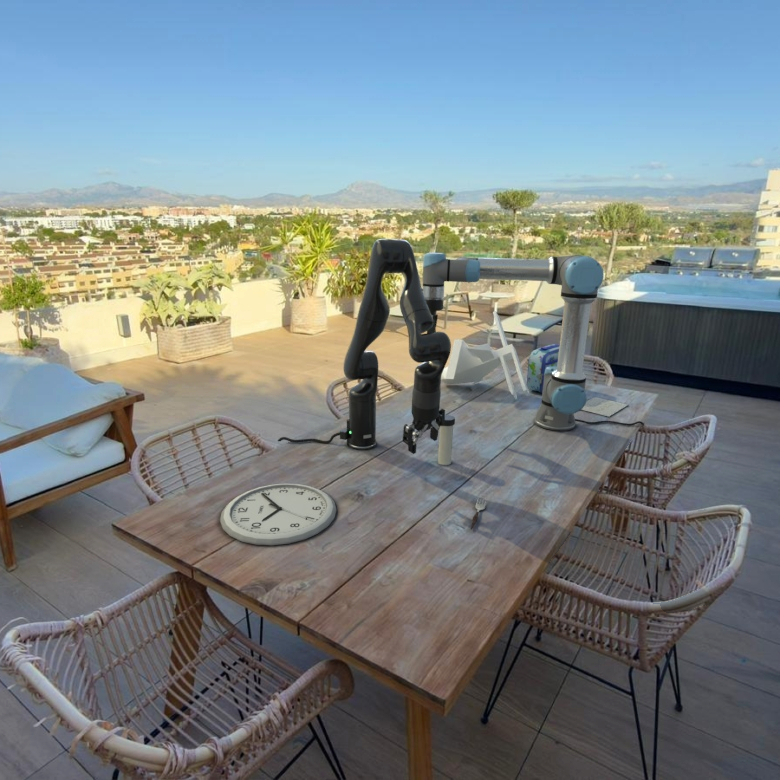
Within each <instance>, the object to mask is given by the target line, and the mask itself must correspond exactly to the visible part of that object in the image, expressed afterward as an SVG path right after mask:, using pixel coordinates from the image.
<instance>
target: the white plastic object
mask: <svg viewBox="0 0 780 780" xmlns="http://www.w3.org/2000/svg"><path fill="white" fill-rule="evenodd" d="M492 315H493V319H494V321H495V324H496V325H495V326H496V328H497V332H498V335H499V338H500V342H501V345H502V347H500V348H498V349H496V350H495V349H493V348H492V347H491V346H490V344H489V343H488V342H487V343H483V344H479V345H473V346H469V345H468V343H466V342H465V340H464V339H463V338H460V339H458V338H454V340H453V344H452V347H451V351H450V356H449V362H448V366H445V367H444V370H443V372H442V375H441V382H442V383H443V384H444V385H445V386H449V385H458V384H467V383H468V384H469V383H473V384H477V383H480V382H482V381H484V378H485V377H486V376H487V375H489V374H490V373H492V372H494V371H495V370H496V369H497V368H499V367H500V366H502V370H503V373H504V376H505V380H506V383H507V386H508V390H509V393H510V394H511V395H512V397H513V398H514V399H515V400H517V392H516V391H517V390H516V388H515V385H514V381H513V378H512V375H511V371H510V369H509V365H508V361H510V360H513V363H514V366H515V369H516V372H517V376H518V380H519V382H520V385H521V389H522V391H523V393H524V395H525V396H526V397H528V396H531V395H530V390H529V389H528V387H527V380H526V378H525V375H524V371H523V369H522V368H523V367H522V366H521V362H520V359H519V355H518V352H517V349H516V347H515V346H514V345H513V343H511V344H508V341H507V337H506V334H505V331H504V328H503V325H502V321H501V318H500V315H499V314H498V312H497V311H496V310H495V311H492Z"/></svg>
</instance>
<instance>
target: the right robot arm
mask: <svg viewBox="0 0 780 780" xmlns="http://www.w3.org/2000/svg"><path fill="white" fill-rule="evenodd" d="M422 264H423V265H422V287H421V288H422V292H423V295H424V298H425V300H426V303H427V305H428V308H429V310H430V312H431V315H432V317H433V326H432V327H431V328H430V329H429V330H428V331H426V333H433V332H437V329H436V328H437V324H438V318H439V315H438V314H437V311H438V312H439V311H442V310H444V299H443V298H444V297H445V282H447V283H449V282H452V283H453V282H457V283H468V284H470V283H477V282H479V281H480V280H495V281H497V280H499V281H500V280H501V281H526V282H527V281H531V282H546V283H547V284H548V285H557V286H561V289H560V298H561V299H562V300H563V303H564V305H563V313H562V322H561V330H560V339H559V345H560V346H559V355H558V364H557V366H553V367H547V368H546V369H545V373H544V382H543V392H542V393H541V402H540V405H539V407H538V410H537V411H536V413H535V417H534V424H535V425H536V426H537V427H539V428H542V429H544V430H549V431H556V432H567V431H572V430H574V429H575V428H576V422H579V423H583V424H588V425H597V424H605V423H610V424H616V425H621V426H629V427H630V426H631V427H632V426H636V425H638V424H640V425H642V426H645V423H644V422H643V421H640V420H638V421H636V422H633V423H625V422H621V421H615V420H599V421H587V420H584V419H583V420H582V419H577V418H575V417H576V416H575V414H576V413H579V412H580V411H582V410H581V409H582V408H583V407H584V406H585V404H586V401H588V397H587V392H586V389H585V388H586V383H587V382H586V381H587V375H586V374H585V373H584V371H583V369H584V361H585V355H586V347H587V339H588V338H587V337H588V330H589V324H590V318H591V317H590V316H591V308H592V303H593V302H594V301H596V300H597V298H598V294H599V293H598V291H599V288H601V285H602V284H603V281H604V269H603V267H602V265H601V264H600V262H599V261H597V260H596V259H595V258H594V257H592V256H587V255H581V254H574V255H573V254H572V255H565V256H551V257H549V258H548V259H545V258H544V259H543V258H542V259H541V258H540V259H539V258H501V257H500V258H497V257H496V258H495V257H494V258H492V257H466V256H460V257H457V258H455V259H451V258H449V259H448V258H447V257H446V253H444V252H427V253H425V254H424V255H423V263H422Z"/></svg>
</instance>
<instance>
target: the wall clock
mask: <svg viewBox="0 0 780 780" xmlns="http://www.w3.org/2000/svg"><path fill="white" fill-rule="evenodd" d="M336 513H337V507H336V502H335V501H334V500H333V498H332V497H331V496H330V495H329V494H327V493H326V492H324V490H321V489H319V488H316V487H313V486H310V485H305V484H299V483H276V484H268V485H264V486H259V487H256V488H252V489H250V490H248V491H245V492H243V493H242V494H239V495H238V496H236V497H235V498H234V499H232V500H231V501H230V502H229V503H227V504H226V506H225V507H224V508H223V510H222V511H221V513H220V518H219V522H220V526H221V528H222V530H223V531H224V532H225V533H226V534H227V535H228V536H229V537H231V538H233V539H235V540H237V541H239V542H242V543H246V544H250V545H256V546H278V545H287V544H294V543H296V542H301V541H304V540H308V539H309V538H311V537H313V536H316V535H318V534H320V533H321V532H323V531H324V530H325V529H327V528H328V527H329V526H330V525H331V523H332V522H333V521H334V520H335V517H336Z"/></svg>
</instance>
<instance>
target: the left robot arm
mask: <svg viewBox="0 0 780 780" xmlns="http://www.w3.org/2000/svg"><path fill="white" fill-rule="evenodd" d="M368 261H369V262H368V266H367V267H368V268H367V275H366V280H365V285H364V289H363V293H362V298H361V302H360V305H359V307H358V312H357V316H356V321H355V325H354V330H353V333H352V336H351V340H350V342H349V344H348V348H347V350H346V353H345V356H344V360H343V373H344V376H345V378H346V379H348V380H349V381H359V380H361V381H360V382H358V384H356V385H355V386H353V387H351V388H350V389H349V391H348V418H347V419H346V427H344V428H343V429H341V430H340V431H339V432H336V433H333V434H332V435H331V437H330V438H329V439H327V440H323V439H322V440H321V439H318V438H303V439H292V438H290V437H288V436H281V437H280V438H279V439H277V442H281V441H288V442H291V443H306V442H307V443H308V442H317V443H320V444H330V443H332V442H333V440H334V438H336V437H337V436H339V439H340V440H343V441H346V445H347V446H349V447H350V448H351V449H355V450H361V451H362V450H370V449H373V448H374V447H376V445H377V441H376V440H377V438H376V436H377V392H378V380H379V359H378V356H377V354H376V353H375V351H372V350H367V349H368V347H369V346H370V345H372V344H373V343H374V342H375V341H376V340H377V339H378V338H379V337H380V336H381V335H382V333H384V331H385V329H386V326H387V323H388V321H389V317H390V312H391V309H390V304H389V301H388V299H387V296H386V294H385V292H384V289H383V286H382V285H383V284H382V282H383V278H384V275H386V274H401V275H402V277H403V279H404V286H403V289H402V292H401V294H400V298H399V310H400V313H401V315H402V319H403V320H404V323H405V326H406V330H407V337H408V353H409V356H410V358H411V359H412V360H413V361H414V362H416V363H418V365H417V366H416V367H415V368H414V374H413V375H414V376H413V388H412V396H411V397H412V398H411V415H412V418H413V419H412V422H411V423H410V424H407V423H405V424H404V425H403V431H402V442H403V443H404V444H406V445H407V450H408V452H410V453H411V454H413V455H415V454H416V453H417V442H418V440H419V439H421V438H422V437H423V434H424V433H426V432H427V431H429V430H430V434H429V438H430V439H431V440H432V441H434V442H436V441H437V440H438V438H439V429H440V426H444V422H445V415H446V410H445V409H444V408H442V407H441V397H442V394H441V392H442V391H441V383H442V380H441V375H442V372H443V370H444V368H446V365H447V363H448V360H449V359H450V356H451V352H452V342H451V339H450V336H449V335H448V334H447V333H446V332H444V331H436V332H433V333H427V331H428V330H429V329H430V328H431V327H432V326H433V317H432V315H431V312H430V310H429V308H428V305H427V303H426V300H425V298H424V295H423V291H422V288H423V287H422V284H421V279H420V274H419V270H418V265H417V261H416V256H415V253H414V249H413V247H412V245H411V243H410V242H409V241H408V240H405V239H394V238H380V239H377V240H376V241H374V243H373V245H372V247H371V251H370V256H369V260H368ZM413 437H414V438H413Z"/></svg>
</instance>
